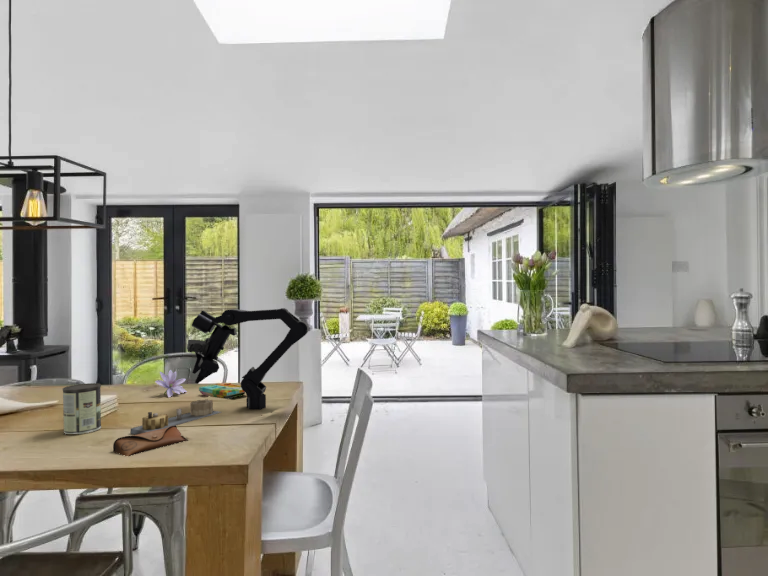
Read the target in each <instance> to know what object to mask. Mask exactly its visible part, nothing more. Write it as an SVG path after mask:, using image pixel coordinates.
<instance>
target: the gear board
mask: <svg viewBox="0 0 768 576" xmlns="http://www.w3.org/2000/svg"><path fill="white" fill-rule="evenodd" d="M221 413H222V411H218V410H213V412H212V414H207V415H205V416H203V415H202V416H194V415H192V416H191V413H190V412H187V413H183V414H182V408H177V409H176V416H172V417H169V415H168V414H165V413H164V414H162V413H161V414H160V413H158V412H154V413H153V412H152V411H149V412H147V416H145V417H142V422H141V423H142V425H140V426H139V425H138V426H135V427H132V428H130V434H131V435H137V434H141V433H146V432H150V431H155V430H159V429H164V428H168V427H170V426H180V425H182V424H186V423H190V422H193V421H198V420H200V419H203V418H207V417H211V416H214V415H218V414H221Z"/></svg>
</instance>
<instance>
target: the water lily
mask: <svg viewBox="0 0 768 576" xmlns="http://www.w3.org/2000/svg"><path fill="white" fill-rule="evenodd" d="M177 375H178V373H177V370H175V371H174V372H173V371H172V369H169V371H168V373H167V374H165V373H164V372H162V371H159V376H161V377H160V378H161V379H162V380H160V379H158V380H155V381H154V383H156V384H157V385H158V386H160V387H163V388H165V389H166V390H165V392H164V393H163V394H164V395H167V397H168V398H169V397H171V396H172V397H173V395H174V393H175V394H177V395H181V393H182V394H185V393H184V392H188V391H187V390H186V389H185V388H183V387H184V386H182V385H181V384H183V383H185V381H186V378H185V377H184V378H183V377H182V378H179V379H176V378H177V377H178V376H177ZM165 393H166V394H165ZM172 397H171V398H172Z"/></svg>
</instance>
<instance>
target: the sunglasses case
mask: <svg viewBox="0 0 768 576" xmlns="http://www.w3.org/2000/svg"><path fill="white" fill-rule="evenodd" d="M183 441H185V442H188V441H189V440H188V439H186V438H185V436H184V435H182V433H181V431H180V430H179V428H178V425H176V426H170V427H168V428H164V429H159V430H155V431H150V432H146V433H141V434H137V435H136V434H131V435H125V436H121V437H118V438H117V439H115V441H114V442H113V444H112V447H113V449H112V450H113V452H114V451H115V452H114V453H116V452H117V453H116V454H119V453H120V454H119V455H121V454H122V455H121V456H123V455H125V456H124V457H126V456H128V457H131V455H132V456H134V454H135V455H138V454H142V453H145V452H149V451H152V450H156V448H157V449H160V447H161V448H163V446H164V447H168V446H171V444H172V445H175V444H174V443H176V444H180V443H179V442H181V443H184V442H183ZM167 445H168V446H167ZM141 452H142V453H141Z"/></svg>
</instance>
